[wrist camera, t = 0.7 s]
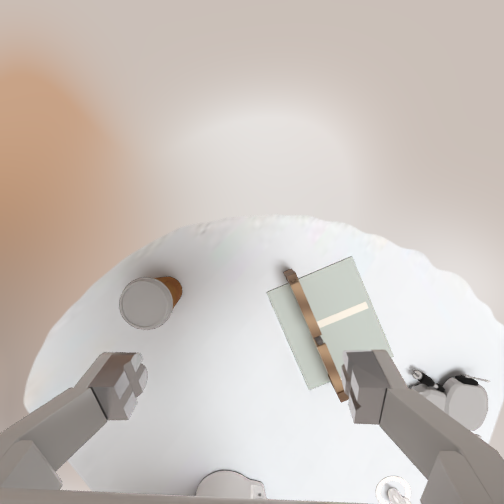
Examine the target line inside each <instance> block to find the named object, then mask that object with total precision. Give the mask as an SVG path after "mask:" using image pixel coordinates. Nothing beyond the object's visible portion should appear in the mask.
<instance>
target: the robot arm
mask: <svg viewBox="0 0 504 504" xmlns="http://www.w3.org/2000/svg"><path fill="white" fill-rule="evenodd" d="M342 359H343V362H344V364H343V365H342V366H341V379H342V384H343V388H344V392H345V394H346V395H348V396H349V403H348V405H349V408H350V412H351V415H352V418H353V421H354V423H357V424H379V425H380V427H381V428H382V429H383V430H384V432H385V433H386V434H387V435H388V436H389V437H390V438H391V439H392V440H393V442H394V443H395V444H396V445H397V446H398V447H399V448H400V449H401V451H402V452H403V453H404V454H405V455H406V456H407V457H408V458H409V460H410V461H411V462H412V463H413V464H414V465H415V466H416V467H417V468H418V470H419V471H420V472H421V473H422V474H423V475H424V476H425V477H426V479H427V480H428V482H427V484H426V487H425V489H424V492H423V494H422V497H421V499H420V501H421V504H504V460H503V458H502V457H501V456H500V454H499V453H498V452H497V450H495V449H494V448H492V447H491V446H490V445H488V444H487V443H486V442H484V441H483V440H482V439H480V438H479V437H478V436H476V435H475V434H474V433H472V432H471V431H470V430H468V429H467V428H466V427H464V426H463V425H461V424H460V423H459V422H457V421H456V420H455V419H453V418H452V417H451V416H449V415H448V414H447V413H445V412H444V411H443V410H441V409H440V408H439V407H437V406H436V405H435V404H433V403H432V402H430V401H429V400H428V399H426V398H425V397H424V396H422V395H421V394H420V393H418V392H417V391H416V390H414V389H409V388H408V386H407V385H406V383H405V381H404V379H403V378H402V376H401V374H400V372H399V371H398V369H397V367H396V365H395V364H394V362H393V360H392V359H391V357H390V355H389V353H388V352H387V351H386V350H385V349H384V350H344V351H343V354H342ZM142 361H143V358H142V355H141V353H125V352H115V353H113V352H104V353H102V354H101V355H99V357H98V358H97V359H96V360H95V362H94V363H93V364H92V365H91V367H90V368H89V369H88V370H87V372H86V373H85V374H84V375H83V377H82V378H81V379H80V380H79V382H78V383H77V384H76V385H75V387H74V388H69V389H67V390H66V391H64V392H63V393H61V394H60V395H58V396H56V397H55V398H53V399H52V400H50V401H49V402H47V403H46V404H44V405H43V406H41V407H40V408H38V409H36V410H35V411H33V412H32V413H30V414H29V415H27V416H26V417H24V418H23V419H21V420H20V421H18V422H16V423H15V424H13V425H12V426H10V427H9V428H7V429H6V430H4V431H3V432H1V433H0V504H366V503H344V502H321V501H298V500H276V499H267V498H266V493H265V489H264V485H263V484H262V483H261V482H259V481H254V480H250V479H247V478H246V477H244V476H243V475H241V474H239V473H236V472H232V471H218V472H215V473H212V474H210V475H208V476H207V477H206V478H204V479H203V480H202V482H201V483H200V484H199V486H198V488H197V491H196V496H184V495H161V494H138V493H115V492H92V491H69V490H68V491H67V490H60V489H61V487H62V481H61V479H60V478H59V476H58V475H57V473H56V471H57V470H58V469H59V468H60V467H61V466H62V465H63V464H64V463H65V462H66V461H67V460H68V459H69V458H70V457H71V456H72V455H73V454H74V453H75V452H76V451H77V450H78V449H79V448H81V447H82V446H83V445H84V444H85V443H86V442H87V441H88V440H89V439H90V438H91V437H92V436H93V435H94V434H95V433H96V432H97V431H98V430H99V429H100V428H101V427H102V426H103V425H104V424H105V423H106V422H107V420H129V418H130V416H131V414H132V412H133V410H134V408H135V406H136V404H137V398H136V397H137V396H139V395H140V394H141V393H142V392H143V391H144V388H145V386H146V383H147V379H148V372H147V369H146V367H145V366H144V365H143V364H141V362H142Z"/></svg>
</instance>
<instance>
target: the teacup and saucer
mask: <svg viewBox="0 0 504 504" xmlns="http://www.w3.org/2000/svg"><path fill="white" fill-rule="evenodd" d="M389 481H398V482H400V483H401V484H402V485H403V486H404V488H405V496H404V497H402V495H401V494H400V493H399V492H398V491H397V490H396V489H395V488H390V489H389V490H388V496H389V500H390V502H391V503H388V502H386V501H385V500H384V499H383V498H382V496H381V488H382V486H383V485H384V484H385V483H386V482H389ZM376 497H377V500H378V501H379V503H380V504H411V502H410V501H409V499H410V497H411V488H410V486H409V484H408V483H407V481H405V480H404V479H403V478H401V477H398V476H389V477H386V478H384V479H382V480H381V481H380V482H379V483H378V485H377V487H376Z"/></svg>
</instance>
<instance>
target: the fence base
mask: <svg viewBox="0 0 504 504" xmlns="http://www.w3.org/2000/svg"><path fill="white" fill-rule="evenodd" d="M313 339H314V341H315V343H316V346H317V348H318V351H319V353H320V355H321V358H322V360H323V362H324V365H325V367H326V369H327V372H328V377H329V379H330V381H331V383H332V385H333V387H334V389H335V391H336V393H337V395H338V397H339V399H340V401H341V402H343V401H346V400H348V399H349V396H348V395H346V394H345V392H344V388H343V384H342V380H341V378H340V376H339V373H338V371H337V369H336V366H335V364H334V362H333V359H332V357H331V355H330V352H329V350H328V348H327V345H326V343H323V340H322V338H321V336H318V337H315V338H313Z"/></svg>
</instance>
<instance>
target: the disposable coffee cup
mask: <svg viewBox="0 0 504 504" xmlns="http://www.w3.org/2000/svg"><path fill="white" fill-rule="evenodd" d="M181 295H182V287H181V284H180V283H179V282H178V280H176V279H175V278H172V277H160V278H150V277H143V278H138V279H135V280H133V281H132V282H130V283H129V284H128V285H127V286H126V287H125V289H124V290H123V292H122V294H121V297H120V301H119V309H120V313H121V315H122V317H123V318H124V320H125V321H126V322H127V323H128V324H129V325H131V326H133V327H135V328H137V329H144V330H145V329H149V330H150V329H155V328H157V327H160V326H161V325H163V324H164V323H165V322H166V321H167V320H168V318H169V317H170V315H171V313H172V309H173V308H174V306H175V305H176V303H177V302H178V301H179V299H180V298H181Z"/></svg>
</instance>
